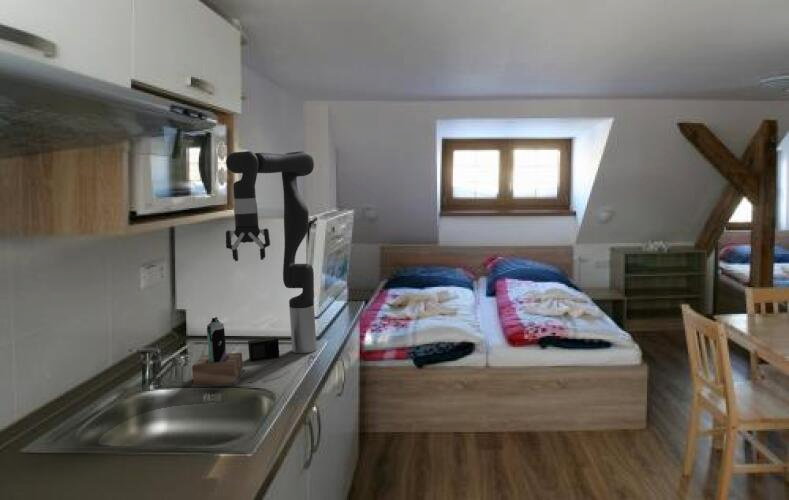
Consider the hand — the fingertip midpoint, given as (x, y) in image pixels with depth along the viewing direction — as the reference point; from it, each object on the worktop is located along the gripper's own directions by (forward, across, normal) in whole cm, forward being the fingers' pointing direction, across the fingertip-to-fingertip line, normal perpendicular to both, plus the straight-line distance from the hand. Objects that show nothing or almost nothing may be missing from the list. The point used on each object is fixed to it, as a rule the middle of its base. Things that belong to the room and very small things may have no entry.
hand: (249, 260), depth 205 cm
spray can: (+38, +11, +8) cm, 40 cm away
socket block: (+38, +11, +8) cm, 40 cm away
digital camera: (+38, 0, -14) cm, 41 cm away
